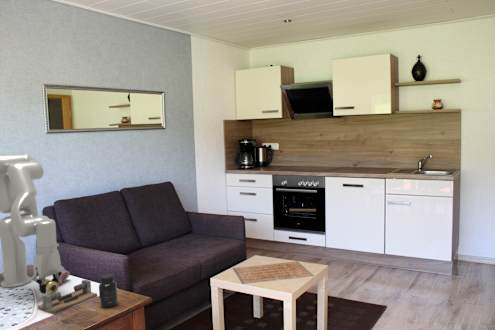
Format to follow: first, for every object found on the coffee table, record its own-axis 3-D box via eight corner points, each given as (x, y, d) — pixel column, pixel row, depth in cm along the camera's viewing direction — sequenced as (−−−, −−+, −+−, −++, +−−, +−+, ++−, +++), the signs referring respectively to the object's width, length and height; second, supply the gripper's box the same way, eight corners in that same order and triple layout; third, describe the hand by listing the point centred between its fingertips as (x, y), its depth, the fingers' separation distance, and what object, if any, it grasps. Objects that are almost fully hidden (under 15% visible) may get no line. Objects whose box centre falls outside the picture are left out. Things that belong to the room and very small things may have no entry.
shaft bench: (37, 308, 174) (36, 293, 174) (80, 291, 191) (79, 277, 190) (54, 314, 168) (53, 299, 168) (97, 296, 185) (96, 282, 184)
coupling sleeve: (39, 292, 185) (38, 280, 184) (50, 288, 189) (49, 277, 189) (48, 295, 182) (47, 284, 181) (58, 291, 186) (58, 280, 185)
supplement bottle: (99, 303, 178) (97, 274, 177) (116, 300, 181) (115, 272, 179) (100, 309, 172) (99, 280, 170) (118, 306, 174) (117, 277, 173)
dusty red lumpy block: (55, 290, 197) (60, 277, 196) (46, 286, 198) (52, 272, 196) (68, 283, 207) (73, 270, 206) (60, 278, 207) (65, 265, 206)
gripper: (59, 242, 192) (61, 282, 195) (22, 252, 178) (24, 295, 180) (70, 245, 188) (72, 285, 191) (33, 256, 174) (35, 299, 176)
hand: (49, 290), depth 185 cm, fingers closed on coupling sleeve, 5 cm apart
